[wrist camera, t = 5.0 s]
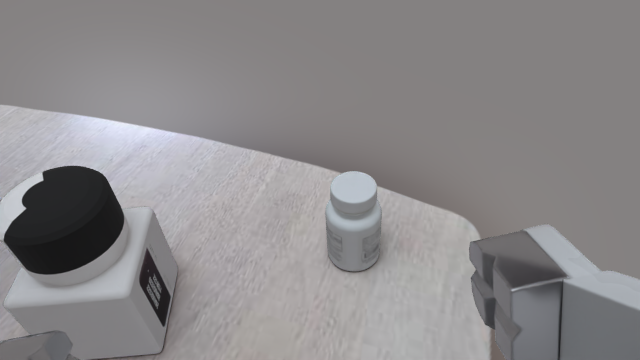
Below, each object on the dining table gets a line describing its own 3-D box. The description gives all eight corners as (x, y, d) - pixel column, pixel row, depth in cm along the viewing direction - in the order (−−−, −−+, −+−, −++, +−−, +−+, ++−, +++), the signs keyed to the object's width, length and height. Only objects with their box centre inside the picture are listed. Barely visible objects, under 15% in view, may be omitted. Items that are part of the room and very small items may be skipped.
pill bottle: (379, 233, 40) (383, 167, 35) (379, 274, 37) (383, 208, 32) (330, 231, 41) (326, 165, 35) (325, 271, 37) (320, 206, 32)
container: (179, 267, 39) (128, 147, 30) (163, 355, 33) (93, 238, 24) (87, 275, 38) (9, 156, 30) (55, 364, 33) (-55, 250, 24)
